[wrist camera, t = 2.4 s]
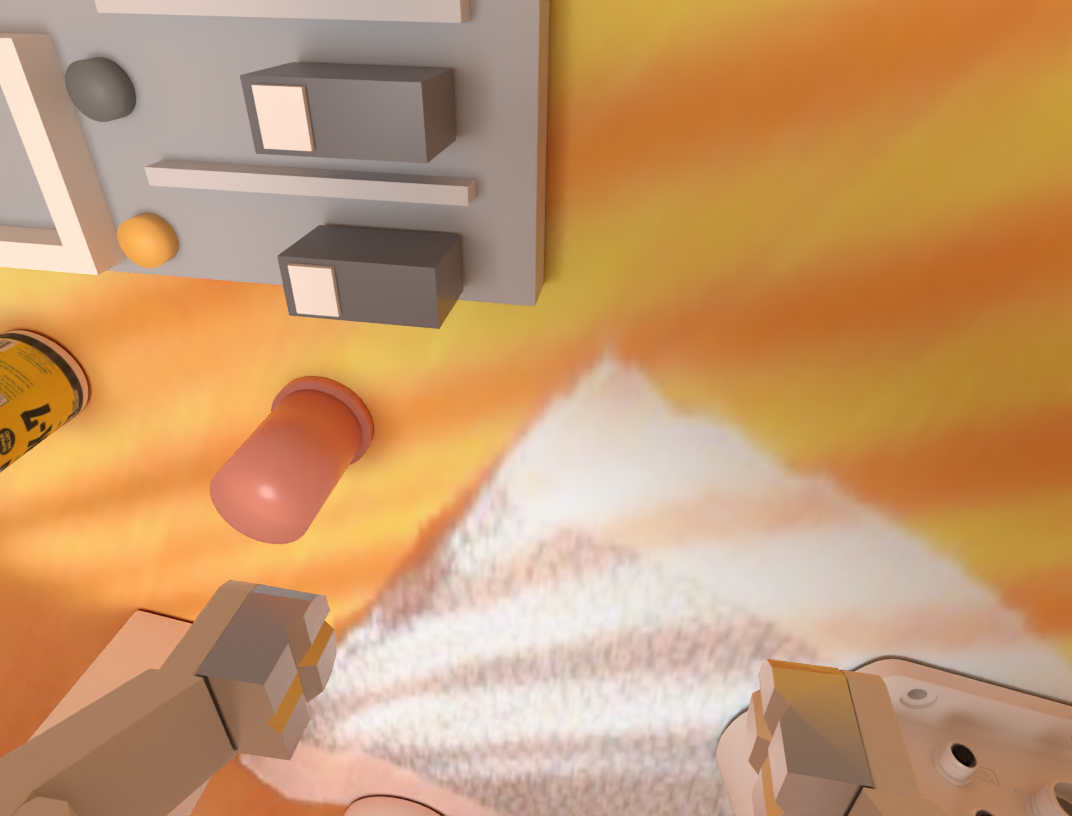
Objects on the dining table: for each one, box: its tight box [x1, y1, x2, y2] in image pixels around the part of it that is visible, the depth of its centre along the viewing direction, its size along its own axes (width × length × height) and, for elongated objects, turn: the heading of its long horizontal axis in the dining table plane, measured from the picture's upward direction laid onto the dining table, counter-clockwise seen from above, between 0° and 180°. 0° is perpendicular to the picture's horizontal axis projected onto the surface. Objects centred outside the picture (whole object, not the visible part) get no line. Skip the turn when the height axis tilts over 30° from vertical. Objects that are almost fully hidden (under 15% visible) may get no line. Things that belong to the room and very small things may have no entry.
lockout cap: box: [210, 376, 374, 544], centre depth 28 cm, size 5×5×6 cm
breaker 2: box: [277, 225, 463, 329], centre depth 22 cm, size 5×2×3 cm, turn 89°
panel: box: [0, 0, 550, 306], centre depth 22 cm, size 24×13×4 cm, turn 89°
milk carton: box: [27, 611, 211, 816], centre depth 35 cm, size 7×7×19 cm
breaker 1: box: [240, 62, 456, 163], centre depth 19 cm, size 5×2×3 cm, turn 89°
